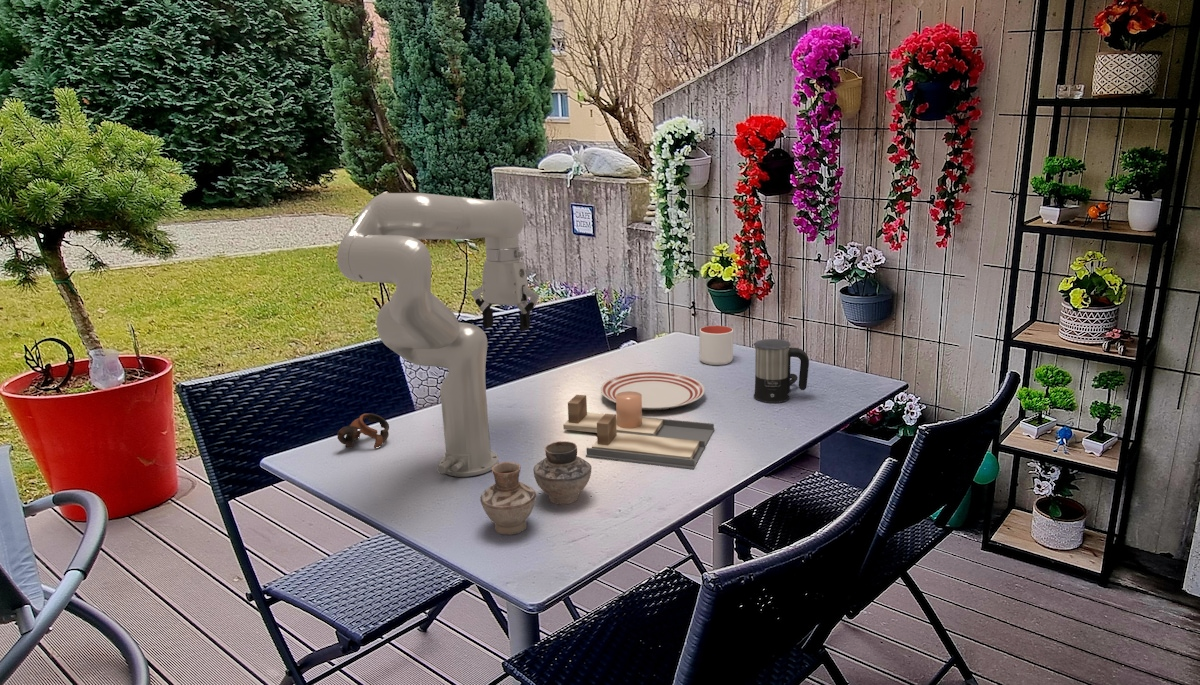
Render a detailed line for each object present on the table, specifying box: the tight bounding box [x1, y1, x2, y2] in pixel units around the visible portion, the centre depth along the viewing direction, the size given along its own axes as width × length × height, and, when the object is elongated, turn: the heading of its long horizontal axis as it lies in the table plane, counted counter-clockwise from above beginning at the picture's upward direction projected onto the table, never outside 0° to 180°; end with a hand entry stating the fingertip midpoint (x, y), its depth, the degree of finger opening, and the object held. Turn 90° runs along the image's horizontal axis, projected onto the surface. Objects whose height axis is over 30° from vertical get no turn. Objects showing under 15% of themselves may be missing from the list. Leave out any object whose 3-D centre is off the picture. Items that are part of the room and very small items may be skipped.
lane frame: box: [585, 416, 715, 470], centre depth 176 cm, size 22×24×2 cm
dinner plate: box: [600, 370, 706, 411], centre depth 205 cm, size 28×27×3 cm
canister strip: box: [563, 394, 663, 435], centre depth 183 cm, size 9×22×6 cm, turn 71°
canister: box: [615, 391, 643, 428], centre depth 181 cm, size 6×6×7 cm
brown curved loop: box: [336, 412, 390, 449], centre depth 179 cm, size 12×10×8 cm
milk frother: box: [753, 338, 810, 404], centre depth 204 cm, size 14×16×15 cm
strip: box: [591, 413, 699, 459], centre depth 170 cm, size 9×22×6 cm, turn 71°
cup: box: [698, 325, 734, 366], centre depth 233 cm, size 10×10×10 cm
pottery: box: [479, 440, 593, 536], centre depth 145 cm, size 11×25×12 cm, turn 141°
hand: (506, 328), depth 181 cm, fingers open, 9 cm apart
